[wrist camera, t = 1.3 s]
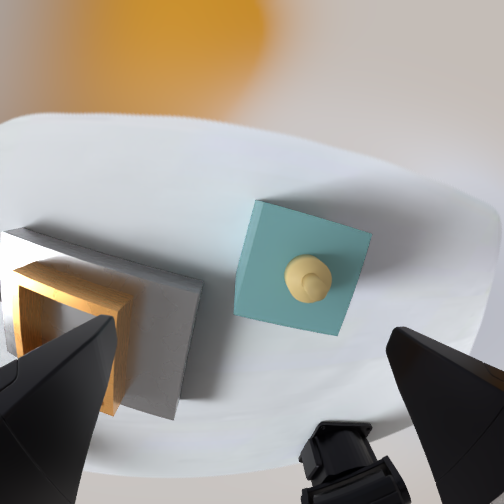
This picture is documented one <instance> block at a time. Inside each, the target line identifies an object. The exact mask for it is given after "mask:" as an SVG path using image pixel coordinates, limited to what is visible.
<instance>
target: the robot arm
mask: <svg viewBox="0 0 504 504" xmlns="http://www.w3.org/2000/svg"><path fill="white" fill-rule="evenodd" d="M116 348H117V334H116V327H115V320H114V317H113V316H110V315H103V314H101V315H98V316H96V317H94V318H93V319H91V320H89V321H87V322H85V323H83V324H81V325H79V326H77V327H76V328H74V329H72V330H70V331H68V332H66V333H64V334H62V335H60V336H59V337H57V338H55V339H53V340H51V341H49V342H47V343H45V344H44V345H42V346H40V347H38V348H36V349H34V350H32V351H31V352H29V353H27V354H25V355H23V356H21V357H19V358H18V360H17V359H16V360H14V361H12V362H10V363H8V364H7V365H5V366H3V367H1V368H0V504H75V500H76V496H77V491H78V487H79V483H80V479H81V475H82V471H83V467H84V463H85V459H86V455H87V452H88V448H89V445H90V441H91V438H92V434H93V431H94V428H95V424H96V421H97V418H98V415H99V412H100V408H101V405H102V402H103V399H104V396H105V393H106V390H107V387H108V383H109V378H110V374H111V369H112V365H113V360H114V356H115V352H116ZM386 354H387V357H388V360H389V363H390V366H391V369H392V372H393V375H394V378H395V381H396V384H397V386H398V389H399V391H400V394H401V396H402V398H403V401H404V403H405V405H406V408H407V410H408V412H409V415H410V417H411V419H412V422H413V424H414V426H415V429H416V432H417V434H418V436H419V439H420V442H421V444H422V447H423V449H424V452H425V455H426V457H427V460H428V463H429V465H430V468H431V471H432V473H433V477H434V479H435V482H436V486H437V489H438V492H439V495H440V498H441V501H442V504H490V503H491V504H504V371H502V370H499V369H497V368H495V367H493V366H490V365H488V364H486V363H483V362H482V361H479V360H477V359H475V358H473V357H471V356H468V355H466V354H464V353H462V352H460V351H457V350H455V349H453V348H451V347H449V346H447V345H444V344H442V343H440V342H438V341H436V340H433V339H431V338H429V337H427V336H425V335H422V334H420V333H418V332H416V331H414V330H412V329H409V328H407V327H396V328H394V329H393V331H392V333H391V336H390V338H389V341H388V343H387V346H386ZM323 426H324V427H323ZM371 430H372V425H371V424H353V423H327V422H322V423H320V424H318V425H317V427H316V429H315V431H314V433H313V434H312V436H311V438H310V439H309V440H308V441H307V443H306V445H305V446H304V448H303V450H302V451H301V455H300V456H299V462H300V463H303V466H304V470H305V474H306V478H307V480H311V482H312V486H313V487H311V488H305V489H302V496H301V503H302V504H411V498H410V495H409V493H408V490H407V488H406V485H405V483H404V481H403V479H402V477H401V476H400V474H399V473H398V471H397V469H396V468H395V466H394V465H393V463H392V462H391V460H390V459H389V457H388V456H385V457H383V458H382V459H381V460H379V461H377V459H376V456H375V454H374V452H373V450H372V449H371V446H370V444H369V442H368V440H367V438H366V437H367V436H368V434H369V433H370V431H371Z"/></svg>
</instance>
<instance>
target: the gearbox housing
mask: <svg viewBox="0 0 504 504" xmlns="http://www.w3.org/2000/svg"><path fill="white" fill-rule="evenodd" d="M203 283H204V281H202V280H198V279H194V278H190V277H186V276H182V275H179V274H175V273H171V272H168V271H164V270H160V269H157V268H153V267H149V266H146V265H142V264H139V263H135V262H132V261H128V260H125V259H121V258H118V257H114V256H111V255H107V254H104V253H101V252H97V251H94V250H91V249H88V248H84V247H81V246H78V245H75V244H71V243H68V242H65V241H62V240H59V239H56V238H52V237H49V236H46V235H43V234H40V233H37V232H34V231H31V230H28V229H25V228H18V229H13V230H9V231H4V232H2V241H1V277H0V301H1V302H2V310H3V321H4V330H5V338H6V345H7V351H8V352H9V353H11V354H13V355H14V356H16V357H18V358H19V357H21V356H23V355H25V354H27V353H29V352H31V351H32V350H34V349H36V348H38V347H40V346H42V345H44V344H45V343H47V342H49V341H51V340H53V339H55V338H57V337H59V336H60V335H62V334H64V333H66V332H68V331H70V330H72V329H74V328H76V327H77V326H79V325H81V324H83V323H85V322H87V321H89V320H91V319H93V318H94V317H96V316H98V315H101V314H103V315H110V316H113V317H114V320H115V327H116V334H117V348H116V352H115V356H114V360H113V365H112V369H111V374H110V378H109V383H108V387H107V390H106V393H105V396H104V399H103V402H102V405H101V408H100V412H103V413H106V414H108V415H111V416H114V415H115V413H116V411H117V409H118V407H119V405H120V404H121V405H124V406H127V407H130V408H133V409H136V410H139V411H142V412H146V413H149V414H152V415H156V416H159V417H163V418H166V419H170V420H174V417H175V414H176V410H177V406H178V403H179V399H180V393H181V388H182V383H183V378H184V372H185V367H186V362H187V357H188V352H189V348H190V343H191V338H192V333H193V328H194V324H195V319H196V315H197V310H198V305H199V301H200V296H201V292H202V288H203Z"/></svg>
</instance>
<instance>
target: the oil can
mask: <svg viewBox="0 0 504 504" xmlns="http://www.w3.org/2000/svg"><path fill="white" fill-rule="evenodd" d="M371 237H372V234H370V233H367V232H364V231H361V230H358V229H355V228H352V227H348V226H345V225H342V224H339V223H336V222H332V221H329V220H326V219H322V218H319V217H316V216H312V215H309V214H305V213H302V212H298V211H295V210H291V209H288V208H284V207H281V206H277V205H273V204H270V203H266V202H262V201H258V200H255V204H254V208H253V211H252V215H251V219H250V223H249V226H248V230H247V234H246V238H245V241H244V245H243V249H242V253H241V257H240V260H239V264H238V268H237V272H236V283H235V299H234V315H237V316H241V317H246V318H250V319H254V320H259V321H263V322H268V323H273V324H277V325H282V326H287V327H292V328H297V329H302V330H307V331H312V332H317V333H323V334H328V335H334V336H338V333H339V331H340V328H341V326H342V323H343V320H344V318H345V315H346V312H347V310H348V307H349V304H350V301H351V299H352V296H353V293H354V290H355V287H356V284H357V281H358V278H359V275H360V272H361V269H362V266H363V263H364V260H365V257H366V253H367V250H368V247H369V244H370V240H371Z"/></svg>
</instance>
